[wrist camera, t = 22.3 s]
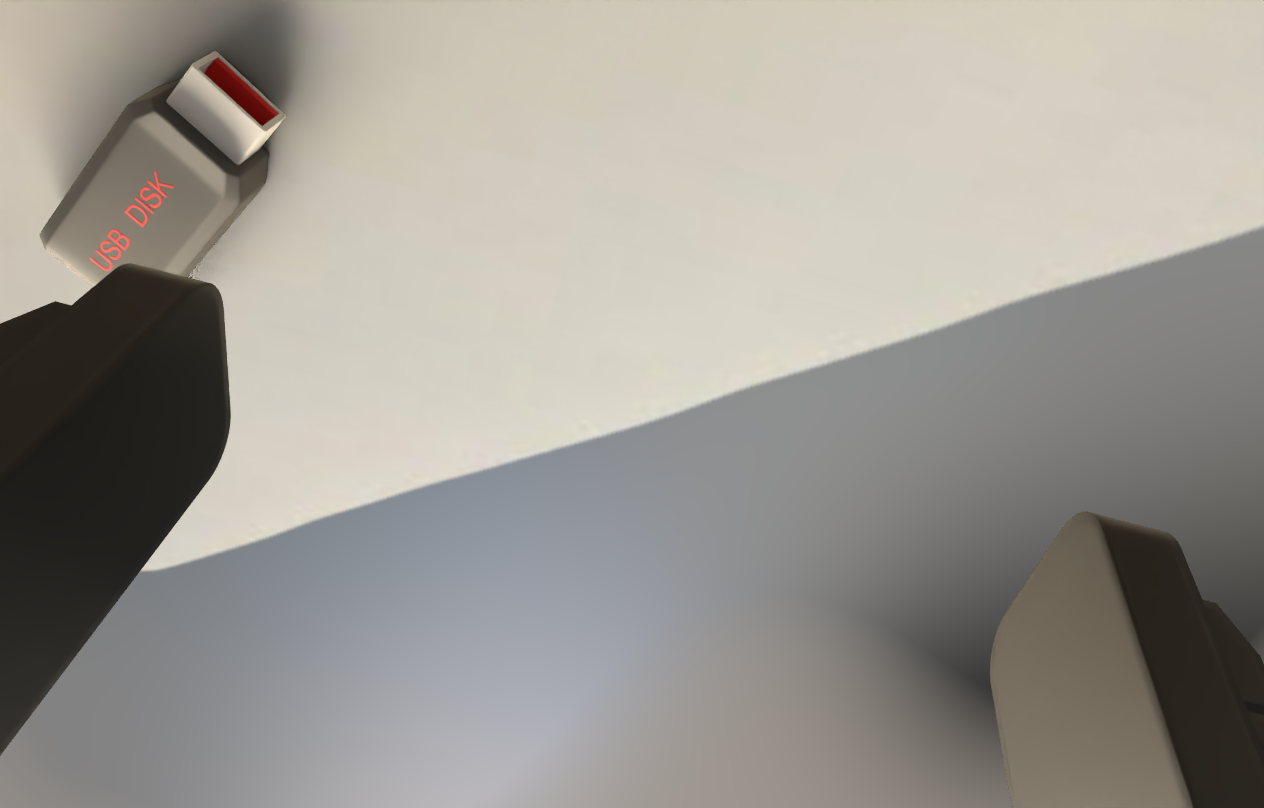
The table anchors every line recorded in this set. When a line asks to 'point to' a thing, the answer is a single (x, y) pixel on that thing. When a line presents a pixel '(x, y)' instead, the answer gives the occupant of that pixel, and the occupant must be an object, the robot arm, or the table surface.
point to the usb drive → (167, 176)
